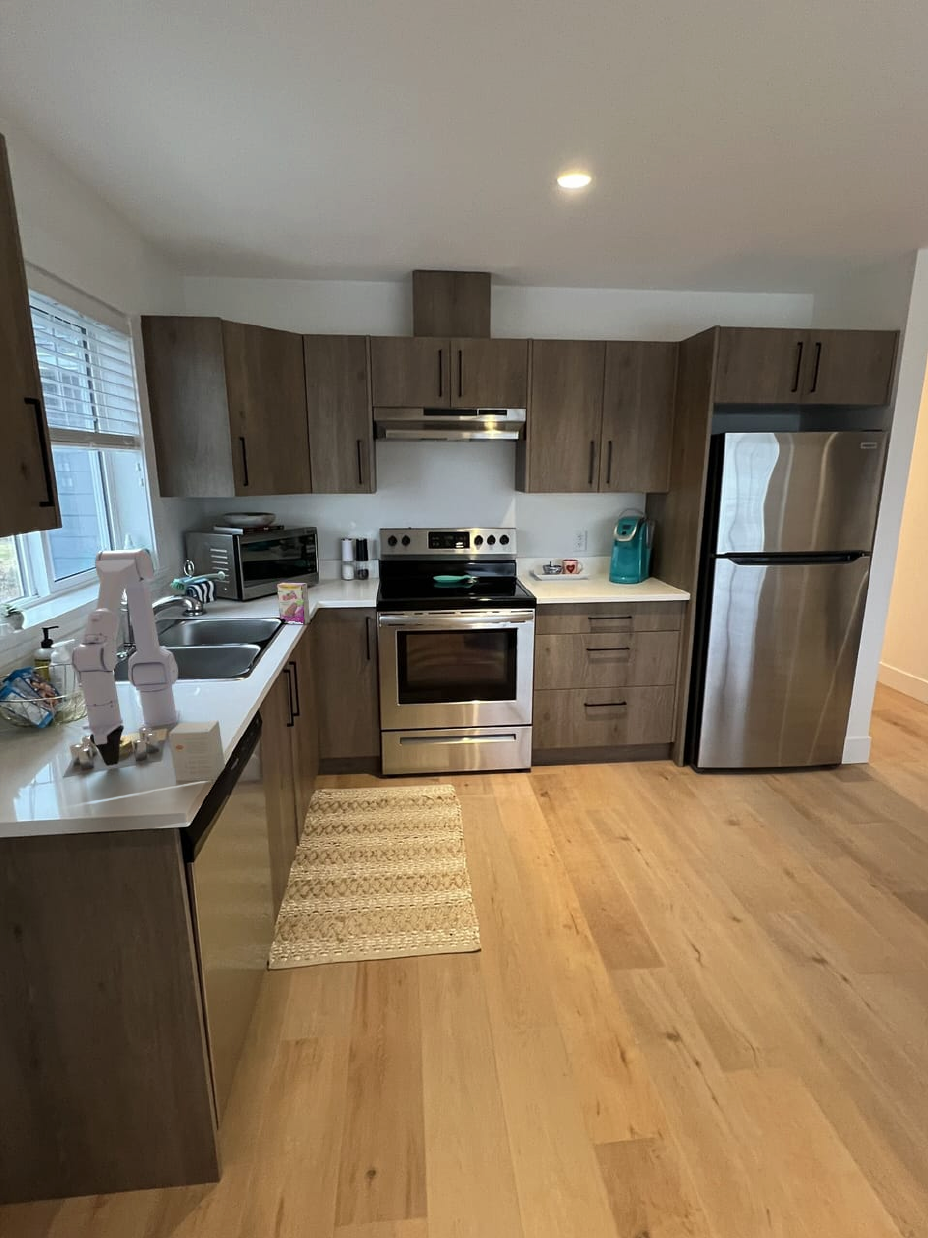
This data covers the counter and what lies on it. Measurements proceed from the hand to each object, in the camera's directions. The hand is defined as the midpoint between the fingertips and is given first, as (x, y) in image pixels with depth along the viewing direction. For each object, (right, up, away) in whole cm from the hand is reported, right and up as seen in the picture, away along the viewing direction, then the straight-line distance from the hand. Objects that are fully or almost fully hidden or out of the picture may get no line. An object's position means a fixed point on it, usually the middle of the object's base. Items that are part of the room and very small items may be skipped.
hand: (112, 763), depth 129 cm
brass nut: (-3, +1, +7) cm, 8 cm away
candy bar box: (+4, +28, +126) cm, 129 cm away
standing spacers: (-2, 0, +6) cm, 6 cm away
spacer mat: (-3, 0, +9) cm, 9 cm away
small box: (+20, -2, -3) cm, 20 cm away
